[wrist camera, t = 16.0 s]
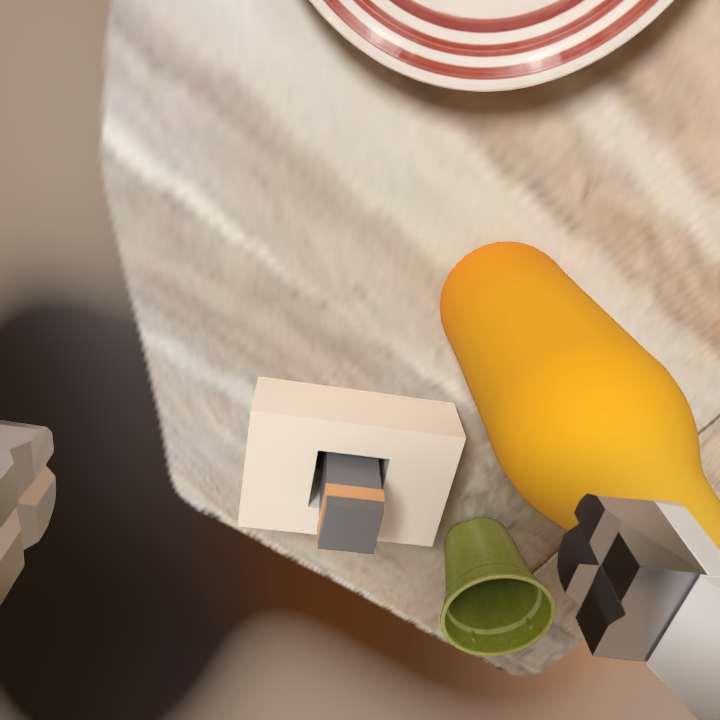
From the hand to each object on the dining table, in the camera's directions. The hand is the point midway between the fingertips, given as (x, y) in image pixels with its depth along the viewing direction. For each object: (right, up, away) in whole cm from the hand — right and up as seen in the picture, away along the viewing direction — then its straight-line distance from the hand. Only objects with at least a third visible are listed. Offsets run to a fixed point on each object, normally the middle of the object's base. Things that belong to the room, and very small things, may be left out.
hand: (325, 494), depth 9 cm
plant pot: (+11, -15, +47) cm, 51 cm away
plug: (-1, -5, +41) cm, 42 cm away
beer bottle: (+11, +7, +36) cm, 38 cm away
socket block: (-1, -5, +41) cm, 41 cm away
